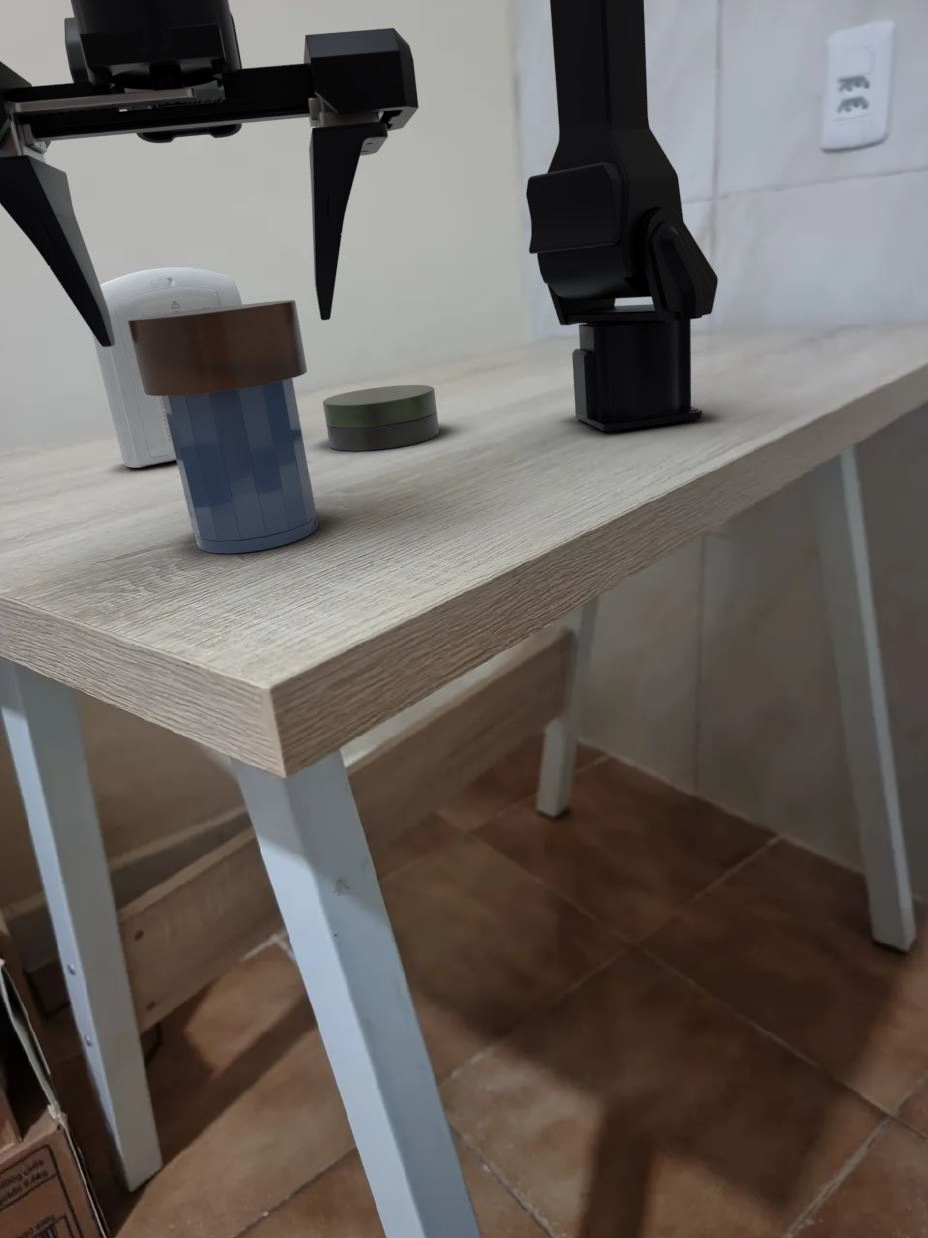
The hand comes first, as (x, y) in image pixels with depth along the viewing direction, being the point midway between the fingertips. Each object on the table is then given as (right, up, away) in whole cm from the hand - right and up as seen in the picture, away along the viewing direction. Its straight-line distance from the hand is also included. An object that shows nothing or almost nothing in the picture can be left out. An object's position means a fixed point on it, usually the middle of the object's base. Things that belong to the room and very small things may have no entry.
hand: (219, 332), depth 38 cm
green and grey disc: (+5, 0, +23) cm, 23 cm away
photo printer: (-8, -1, +25) cm, 26 cm away
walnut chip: (0, -2, +1) cm, 2 cm away
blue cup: (+1, -8, +3) cm, 9 cm away
